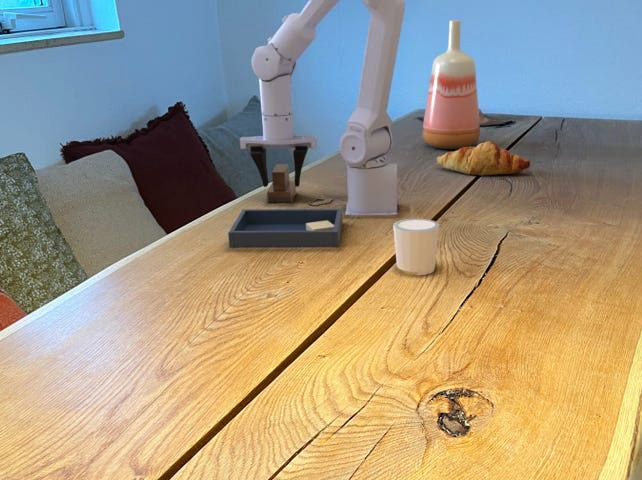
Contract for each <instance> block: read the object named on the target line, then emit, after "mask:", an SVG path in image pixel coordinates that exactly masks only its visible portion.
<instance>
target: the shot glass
mask: <svg viewBox="0 0 642 480" xmlns="http://www.w3.org/2000/svg"><path fill="white" fill-rule="evenodd" d="M392 228H393V229H392V230H393V239H394V250H395V259H396V261H395V262H396V267H397V269H399V270H401V271H403V272H407V273H416V274H413V276H417V277H418V276H427V275H430V274H432V273H433V272H435V267H436V260H437V259H436V258H437V249H438V243H439V241H438V240H439V233H440V223H438V222H437V221H435V220H432V219H427V218H405V219H401V220H398V221H395V222H394V223H393V225H392Z"/></svg>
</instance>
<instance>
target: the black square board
mask: <svg viewBox="0 0 642 480" xmlns="http://www.w3.org/2000/svg"><path fill="white" fill-rule="evenodd" d="M478 109H479V122H480V127H481V126H490V125H492V126H493V125H501V124H506V122H505V121H501V120H497V119H494V118H492V117H490V116H488V115H486V114H484V113H483V111H482V110H481V108H480V107H478ZM417 118H418V119H421V120H424V116H418V117H417Z"/></svg>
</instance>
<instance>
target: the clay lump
mask: <svg viewBox="0 0 642 480" xmlns="http://www.w3.org/2000/svg"><path fill="white" fill-rule="evenodd" d="M306 230H307V231H333V230H334V225H333V224H332V223H330V222H329V221H328V220H327V221H319V222H311V223H306Z"/></svg>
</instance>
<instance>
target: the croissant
mask: <svg viewBox="0 0 642 480" xmlns="http://www.w3.org/2000/svg"><path fill="white" fill-rule="evenodd" d="M436 163H437V164H438V165H439V166H440V167H441V168H444V169H447V170H449V171H454V172H457V173H461V174H465V175H472V176H473V175H474V176H475V175H476V176H492V175H495V176H496V175H513V174H518V173H521V172H523V171H525V170H527V169H529V168H530V167H531V160H530V159H528V158H522V157H521V156H520V155H517V154H512V153H510V152H509V151H508V150H507V149H504V148H500V147H499V146H498V144H496V143H495V142H493V141H490V140H489V141H484V142H480V143H479V144H478V145H476V146H470V147H463V148H461V149H456V150H455V151H454V150H453V151H448V152H446V153H445V154H443V155H439V156H438V157H437V158H436Z"/></svg>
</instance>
